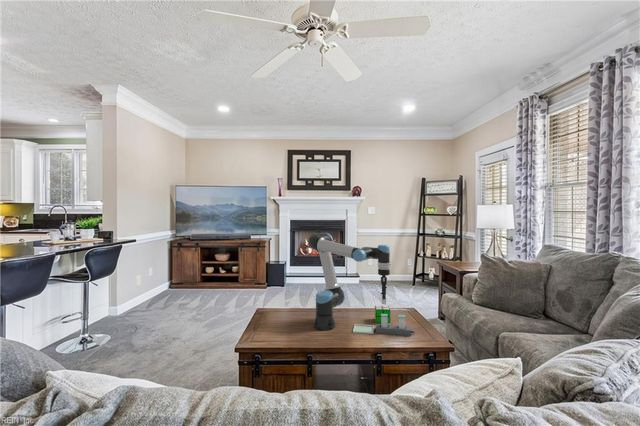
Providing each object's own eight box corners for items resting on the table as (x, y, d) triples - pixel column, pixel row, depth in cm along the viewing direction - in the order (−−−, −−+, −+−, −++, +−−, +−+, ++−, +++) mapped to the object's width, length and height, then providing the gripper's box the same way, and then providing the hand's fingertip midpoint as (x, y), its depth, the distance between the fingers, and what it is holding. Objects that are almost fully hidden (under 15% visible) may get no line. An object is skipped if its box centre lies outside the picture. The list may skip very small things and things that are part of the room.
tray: (352, 333, 194) (352, 331, 194) (354, 326, 207) (354, 324, 207) (373, 334, 191) (373, 332, 191) (374, 327, 204) (374, 325, 204)
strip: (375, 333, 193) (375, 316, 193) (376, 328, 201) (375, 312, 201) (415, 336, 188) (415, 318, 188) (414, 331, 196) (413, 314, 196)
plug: (381, 332, 194) (381, 315, 195) (381, 330, 199) (381, 313, 199) (387, 332, 194) (387, 316, 194) (387, 330, 198) (387, 314, 198)
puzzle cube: (388, 319, 220) (388, 305, 221) (390, 323, 210) (390, 309, 211) (374, 318, 221) (374, 305, 222) (376, 323, 211) (375, 309, 212)
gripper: (390, 272, 184) (390, 307, 183) (389, 265, 208) (389, 296, 208) (377, 272, 185) (377, 306, 185) (378, 265, 209) (378, 295, 209)
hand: (383, 301), depth 196 cm, fingers open, 13 cm apart
